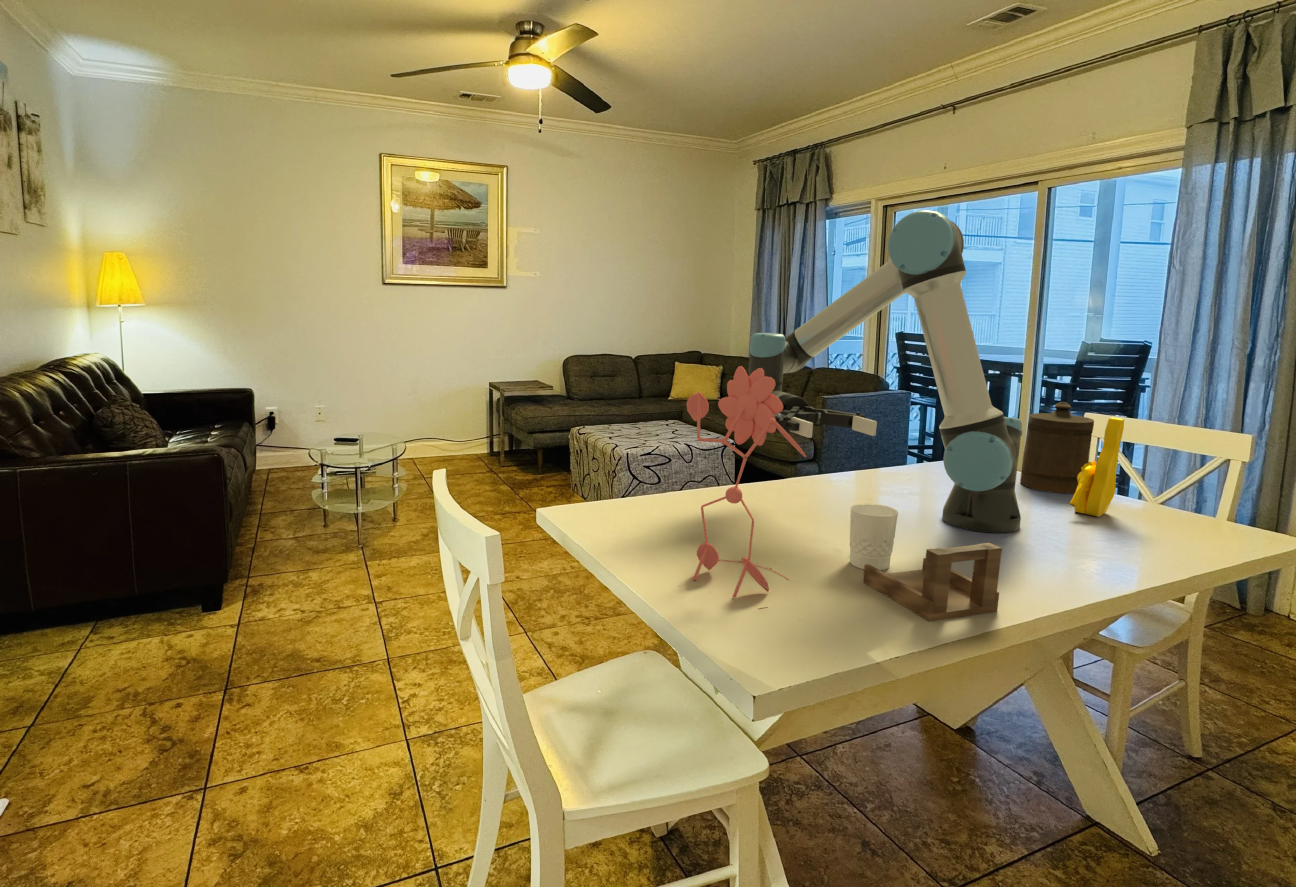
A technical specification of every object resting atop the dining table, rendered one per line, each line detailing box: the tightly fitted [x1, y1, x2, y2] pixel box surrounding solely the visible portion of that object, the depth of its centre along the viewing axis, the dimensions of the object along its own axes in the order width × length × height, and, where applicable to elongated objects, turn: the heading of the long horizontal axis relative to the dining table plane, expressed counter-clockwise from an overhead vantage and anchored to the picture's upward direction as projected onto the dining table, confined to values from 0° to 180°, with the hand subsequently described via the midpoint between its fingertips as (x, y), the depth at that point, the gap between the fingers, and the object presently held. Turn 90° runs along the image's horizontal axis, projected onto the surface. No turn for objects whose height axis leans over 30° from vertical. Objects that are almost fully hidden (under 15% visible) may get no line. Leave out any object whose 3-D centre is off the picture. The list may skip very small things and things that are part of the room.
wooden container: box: [1019, 401, 1095, 494], centre depth 191 cm, size 15×15×22 cm
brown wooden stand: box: [862, 542, 1003, 622], centre depth 117 cm, size 16×12×10 cm
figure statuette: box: [1069, 417, 1125, 518], centre depth 166 cm, size 18×8×22 cm, turn 134°
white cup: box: [849, 503, 899, 571], centre depth 131 cm, size 8×8×10 cm
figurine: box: [685, 365, 807, 610], centre depth 120 cm, size 15×26×35 cm, turn 39°
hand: (843, 429), depth 137 cm, fingers open, 13 cm apart
